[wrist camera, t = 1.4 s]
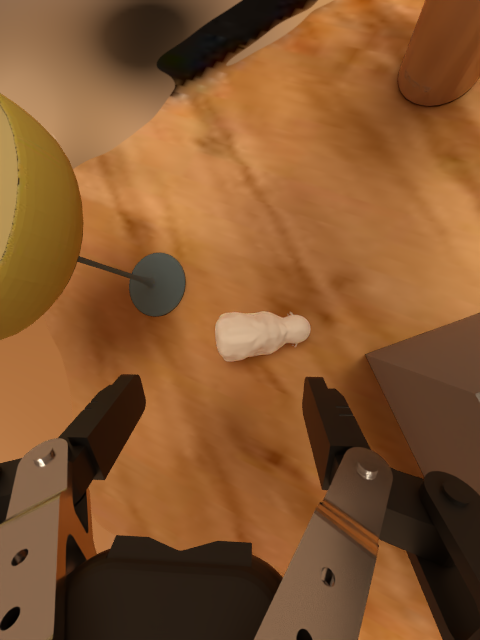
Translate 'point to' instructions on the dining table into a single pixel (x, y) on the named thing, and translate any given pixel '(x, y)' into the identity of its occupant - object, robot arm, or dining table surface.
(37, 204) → the cocktail glass
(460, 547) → the robot arm
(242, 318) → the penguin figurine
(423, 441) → the shelf
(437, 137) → the dining table surface
